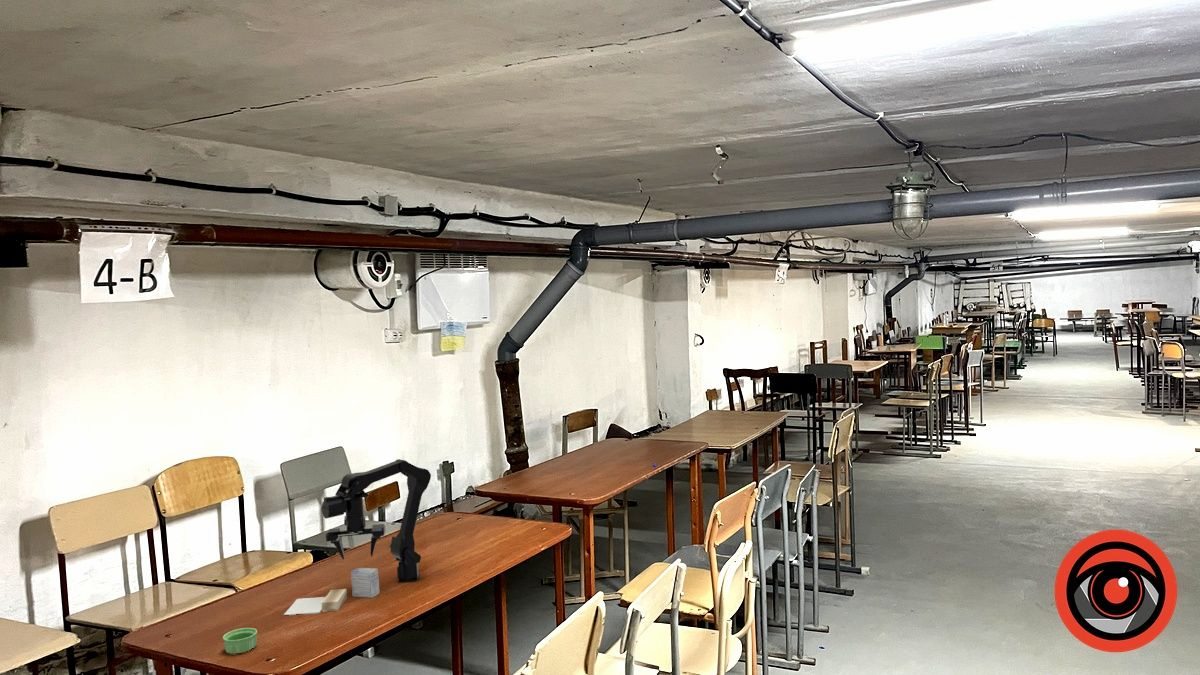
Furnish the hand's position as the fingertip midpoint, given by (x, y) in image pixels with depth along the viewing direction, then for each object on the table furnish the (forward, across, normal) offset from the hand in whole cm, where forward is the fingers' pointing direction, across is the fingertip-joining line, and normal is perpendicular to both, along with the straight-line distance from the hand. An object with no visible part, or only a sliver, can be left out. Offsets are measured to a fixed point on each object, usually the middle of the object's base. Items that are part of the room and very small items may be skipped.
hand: (357, 557), depth 271 cm
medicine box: (+12, -2, +3) cm, 13 cm away
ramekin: (+12, +28, +38) cm, 49 cm away
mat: (+12, +15, +8) cm, 21 cm away
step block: (+12, +7, +9) cm, 16 cm away
